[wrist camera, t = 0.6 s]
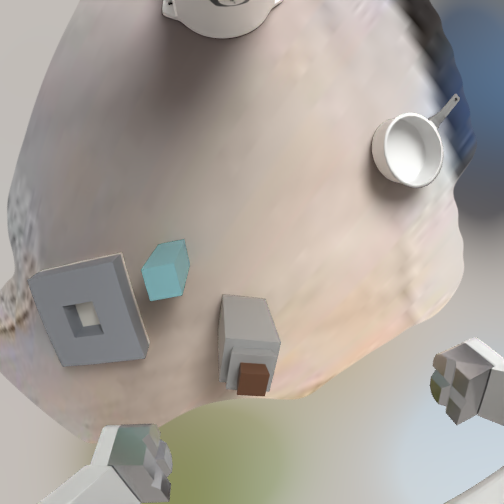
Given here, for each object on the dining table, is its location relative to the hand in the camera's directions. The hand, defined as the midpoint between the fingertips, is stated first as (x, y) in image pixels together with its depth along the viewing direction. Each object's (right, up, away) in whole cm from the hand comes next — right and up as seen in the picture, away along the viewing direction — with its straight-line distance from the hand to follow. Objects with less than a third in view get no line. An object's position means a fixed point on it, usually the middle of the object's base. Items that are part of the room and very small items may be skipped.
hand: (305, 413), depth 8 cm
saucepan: (+25, +24, +39) cm, 52 cm away
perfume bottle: (-3, -6, +44) cm, 44 cm away
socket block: (-28, -5, +41) cm, 49 cm away
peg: (-13, +4, +40) cm, 42 cm away
